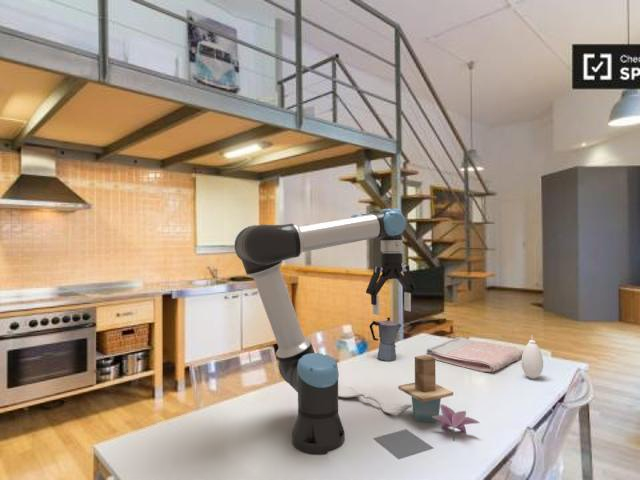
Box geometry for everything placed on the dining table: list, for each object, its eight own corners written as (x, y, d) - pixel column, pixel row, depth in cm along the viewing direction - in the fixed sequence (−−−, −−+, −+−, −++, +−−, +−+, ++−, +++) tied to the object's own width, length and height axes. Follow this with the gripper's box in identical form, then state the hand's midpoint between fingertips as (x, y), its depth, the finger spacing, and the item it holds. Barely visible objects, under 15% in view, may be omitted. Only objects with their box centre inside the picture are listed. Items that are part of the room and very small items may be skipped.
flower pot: (441, 427, 120) (441, 398, 120) (411, 425, 122) (411, 396, 122) (438, 414, 128) (438, 387, 128) (411, 412, 130) (410, 385, 130)
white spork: (397, 423, 123) (396, 412, 123) (324, 395, 146) (324, 385, 146) (412, 414, 130) (412, 403, 130) (341, 388, 153) (341, 379, 153)
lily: (485, 446, 111) (481, 409, 116) (463, 442, 104) (460, 403, 109) (448, 444, 119) (445, 410, 124) (425, 441, 112) (423, 405, 117)
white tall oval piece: (541, 383, 156) (541, 337, 156) (520, 378, 160) (519, 334, 160) (544, 377, 162) (544, 333, 162) (523, 373, 167) (523, 331, 166)
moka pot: (404, 361, 184) (403, 319, 184) (371, 362, 184) (370, 319, 184) (400, 355, 193) (399, 315, 193) (368, 355, 193) (368, 315, 193)
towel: (459, 344, 214) (459, 334, 214) (525, 358, 189) (525, 346, 189) (423, 359, 190) (423, 347, 190) (493, 376, 165) (493, 363, 165)
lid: (398, 388, 128) (398, 355, 128) (427, 382, 133) (427, 350, 133) (422, 402, 117) (422, 365, 117) (453, 395, 122) (452, 360, 122)
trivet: (398, 461, 102) (398, 459, 102) (372, 440, 113) (372, 438, 113) (434, 449, 107) (434, 448, 107) (406, 430, 118) (406, 429, 118)
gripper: (367, 253, 130) (368, 317, 130) (426, 251, 141) (426, 310, 141) (355, 253, 137) (356, 313, 137) (412, 251, 148) (413, 307, 148)
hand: (392, 312), depth 139 cm, fingers open, 13 cm apart
